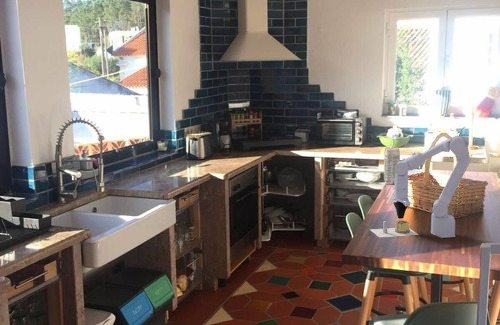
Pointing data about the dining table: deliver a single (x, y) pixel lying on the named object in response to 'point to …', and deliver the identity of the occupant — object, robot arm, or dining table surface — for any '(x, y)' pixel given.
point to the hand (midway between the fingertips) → (400, 218)
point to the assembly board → (391, 231)
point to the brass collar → (402, 226)
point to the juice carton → (390, 163)
